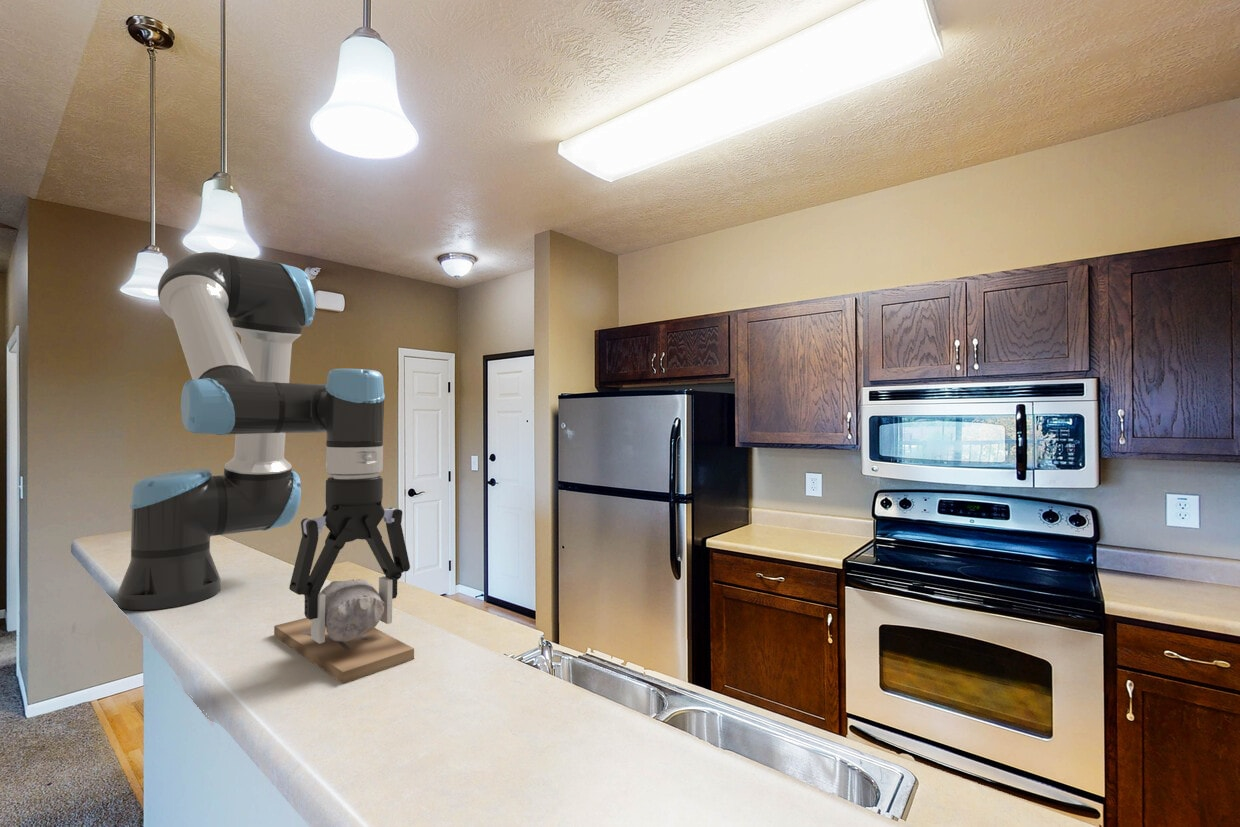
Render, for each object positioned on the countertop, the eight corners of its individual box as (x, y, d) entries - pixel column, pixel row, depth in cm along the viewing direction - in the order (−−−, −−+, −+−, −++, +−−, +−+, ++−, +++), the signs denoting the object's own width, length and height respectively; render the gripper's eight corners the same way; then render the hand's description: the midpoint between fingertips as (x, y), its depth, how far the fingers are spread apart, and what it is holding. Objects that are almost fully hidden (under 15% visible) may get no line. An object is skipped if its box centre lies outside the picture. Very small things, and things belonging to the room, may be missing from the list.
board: (274, 635, 90) (274, 625, 90) (339, 618, 97) (339, 609, 97) (342, 683, 74) (343, 671, 74) (414, 658, 82) (414, 648, 82)
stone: (329, 652, 76) (330, 600, 76) (315, 624, 86) (315, 578, 86) (391, 639, 81) (392, 590, 81) (371, 614, 91) (372, 570, 91)
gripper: (282, 484, 72) (280, 662, 72) (436, 472, 89) (434, 616, 89) (261, 479, 77) (259, 645, 77) (410, 468, 94) (408, 605, 94)
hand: (352, 630), depth 83 cm, fingers closed on stone, 9 cm apart
